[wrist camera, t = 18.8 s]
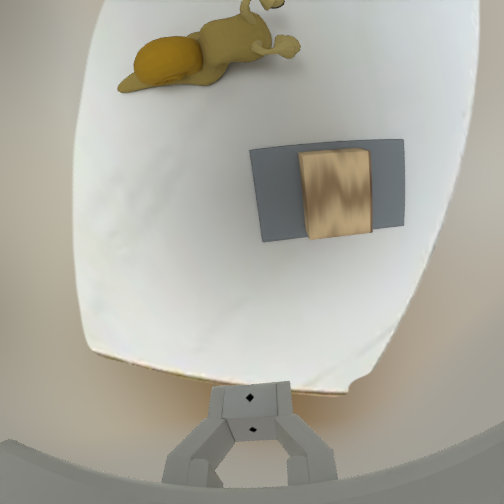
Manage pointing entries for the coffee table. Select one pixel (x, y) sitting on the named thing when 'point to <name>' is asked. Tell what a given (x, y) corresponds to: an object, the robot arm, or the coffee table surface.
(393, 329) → the coffee table surface
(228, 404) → the robot arm
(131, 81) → the toy
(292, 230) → the mat
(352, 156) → the slab
